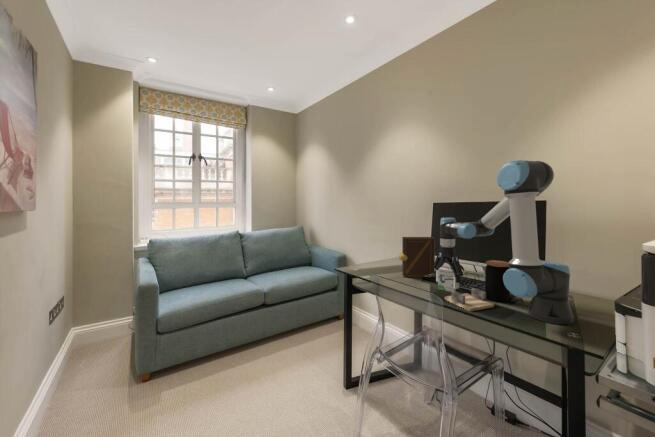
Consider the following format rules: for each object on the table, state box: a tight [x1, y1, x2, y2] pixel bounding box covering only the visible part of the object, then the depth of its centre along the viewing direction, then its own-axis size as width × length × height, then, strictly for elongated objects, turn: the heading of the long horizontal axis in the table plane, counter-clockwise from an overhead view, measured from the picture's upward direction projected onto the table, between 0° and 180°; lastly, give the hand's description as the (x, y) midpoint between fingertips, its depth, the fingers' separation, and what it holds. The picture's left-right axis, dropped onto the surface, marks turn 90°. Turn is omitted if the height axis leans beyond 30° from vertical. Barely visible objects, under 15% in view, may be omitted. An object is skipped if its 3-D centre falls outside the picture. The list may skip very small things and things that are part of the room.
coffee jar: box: [484, 259, 511, 303], centre depth 141 cm, size 11×11×18 cm
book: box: [398, 236, 436, 279], centre depth 184 cm, size 22×8×25 cm, turn 82°
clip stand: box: [444, 287, 495, 312], centre depth 136 cm, size 16×14×6 cm
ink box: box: [437, 266, 457, 293], centre depth 156 cm, size 9×5×12 cm, turn 51°
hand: (447, 284), depth 157 cm, fingers open, 13 cm apart
